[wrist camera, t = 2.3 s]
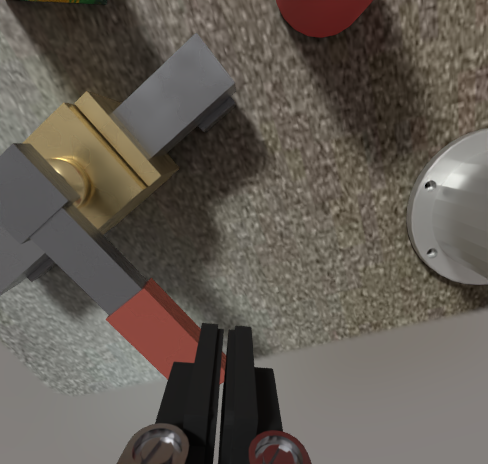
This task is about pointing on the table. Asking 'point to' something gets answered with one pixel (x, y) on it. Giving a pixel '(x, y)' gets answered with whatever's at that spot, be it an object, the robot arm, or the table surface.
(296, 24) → the beer can
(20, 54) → the table surface
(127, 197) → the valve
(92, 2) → the crayon box
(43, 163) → the lever
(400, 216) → the table surface
